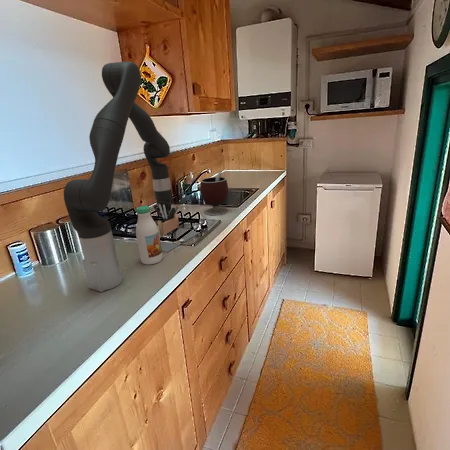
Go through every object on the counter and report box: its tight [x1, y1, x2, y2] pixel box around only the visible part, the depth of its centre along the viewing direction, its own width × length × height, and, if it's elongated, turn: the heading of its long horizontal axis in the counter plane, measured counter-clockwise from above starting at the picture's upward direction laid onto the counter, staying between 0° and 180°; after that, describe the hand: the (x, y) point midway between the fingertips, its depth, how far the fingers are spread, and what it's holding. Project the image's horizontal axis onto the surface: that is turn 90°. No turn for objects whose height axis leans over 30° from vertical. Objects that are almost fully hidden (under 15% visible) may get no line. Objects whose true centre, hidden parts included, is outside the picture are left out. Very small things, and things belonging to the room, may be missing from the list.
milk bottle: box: [135, 205, 164, 265], centre depth 105 cm, size 8×8×20 cm
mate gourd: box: [200, 170, 229, 217], centre depth 153 cm, size 16×14×20 cm
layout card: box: [160, 227, 202, 254], centre depth 126 cm, size 22×16×1 cm
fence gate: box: [161, 213, 180, 235], centre depth 132 cm, size 10×2×6 cm, turn 148°
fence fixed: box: [156, 220, 163, 237], centre depth 123 cm, size 12×2×7 cm, turn 148°
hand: (168, 225), depth 136 cm, fingers closed
